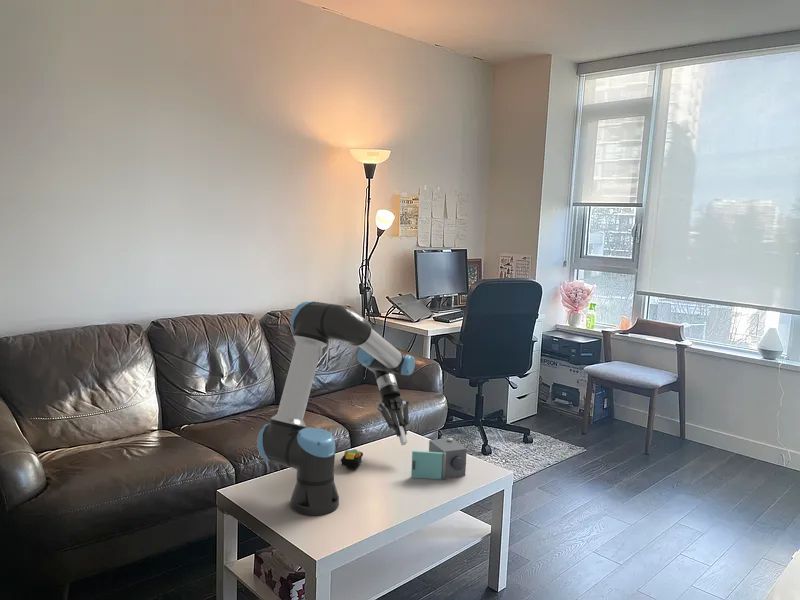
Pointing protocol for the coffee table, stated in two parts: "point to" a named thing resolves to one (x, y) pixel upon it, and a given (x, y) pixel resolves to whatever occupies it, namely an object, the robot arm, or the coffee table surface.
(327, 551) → the coffee table surface
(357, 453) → the gadget
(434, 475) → the side door
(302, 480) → the robot arm
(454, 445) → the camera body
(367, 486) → the coffee table surface
